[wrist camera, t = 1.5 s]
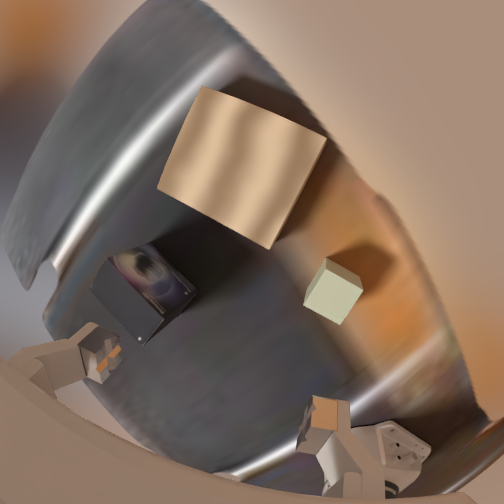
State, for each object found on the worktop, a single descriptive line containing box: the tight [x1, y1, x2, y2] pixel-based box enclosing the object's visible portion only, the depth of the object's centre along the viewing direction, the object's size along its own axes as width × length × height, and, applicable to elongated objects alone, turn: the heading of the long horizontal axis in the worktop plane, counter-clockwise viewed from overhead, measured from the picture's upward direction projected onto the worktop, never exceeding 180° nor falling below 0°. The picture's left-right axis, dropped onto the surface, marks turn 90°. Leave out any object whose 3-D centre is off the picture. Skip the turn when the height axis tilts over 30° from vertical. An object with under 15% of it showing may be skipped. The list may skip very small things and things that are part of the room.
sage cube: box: [303, 258, 363, 325], centre depth 34 cm, size 5×5×5 cm
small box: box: [90, 242, 199, 346], centre depth 38 cm, size 11×6×10 cm, turn 50°
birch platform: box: [157, 86, 327, 249], centre depth 34 cm, size 16×14×4 cm
